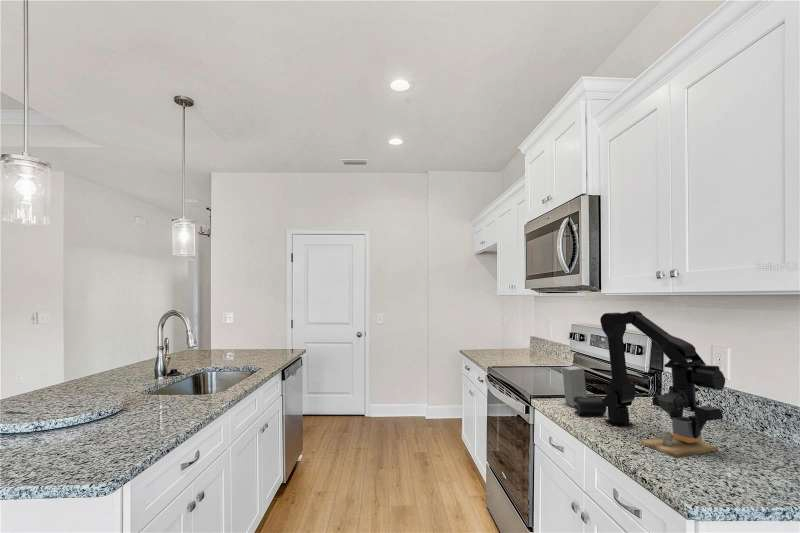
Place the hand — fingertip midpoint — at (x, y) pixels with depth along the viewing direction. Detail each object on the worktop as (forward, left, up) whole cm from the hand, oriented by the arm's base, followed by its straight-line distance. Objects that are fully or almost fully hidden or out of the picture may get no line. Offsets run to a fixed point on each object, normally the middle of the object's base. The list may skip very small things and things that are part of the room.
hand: (687, 435), depth 125 cm
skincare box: (-49, -1, -3) cm, 49 cm away
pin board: (0, -4, -3) cm, 5 cm away
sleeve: (0, 0, -1) cm, 1 cm away
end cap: (-36, -5, -3) cm, 36 cm away
